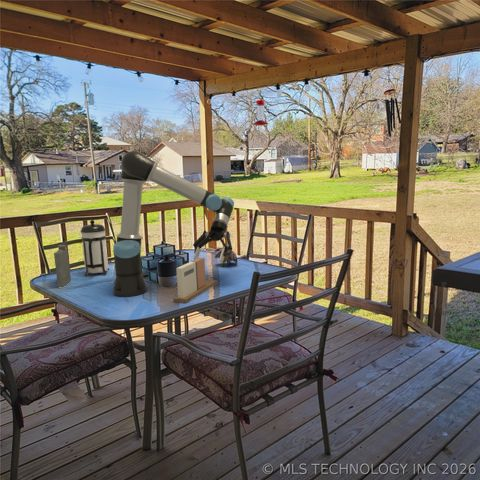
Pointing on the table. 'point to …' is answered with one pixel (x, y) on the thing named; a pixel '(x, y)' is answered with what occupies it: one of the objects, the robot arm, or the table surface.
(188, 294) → the ticket holder
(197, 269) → the orange book
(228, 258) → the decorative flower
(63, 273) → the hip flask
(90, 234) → the coffee press
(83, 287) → the table surface
